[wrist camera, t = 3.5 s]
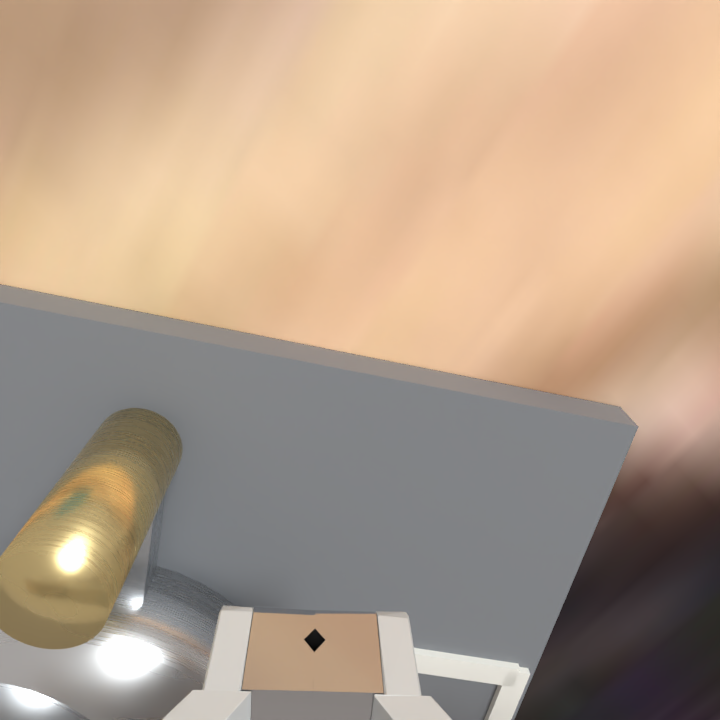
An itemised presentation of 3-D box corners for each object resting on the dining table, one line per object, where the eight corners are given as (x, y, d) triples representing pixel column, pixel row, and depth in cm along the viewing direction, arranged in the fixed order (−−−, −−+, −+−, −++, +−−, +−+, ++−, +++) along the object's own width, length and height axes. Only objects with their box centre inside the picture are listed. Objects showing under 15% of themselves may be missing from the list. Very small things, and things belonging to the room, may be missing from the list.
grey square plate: (619, 406, 15) (642, 431, 14) (411, 919, 22) (414, 963, 21) (-359, 213, 13) (-426, 223, 12) (-242, 849, 20) (-277, 894, 19)
